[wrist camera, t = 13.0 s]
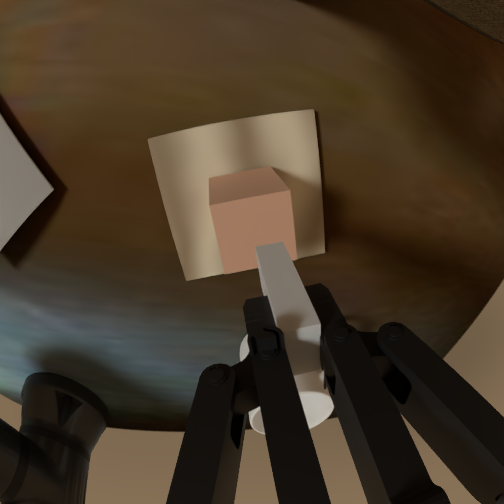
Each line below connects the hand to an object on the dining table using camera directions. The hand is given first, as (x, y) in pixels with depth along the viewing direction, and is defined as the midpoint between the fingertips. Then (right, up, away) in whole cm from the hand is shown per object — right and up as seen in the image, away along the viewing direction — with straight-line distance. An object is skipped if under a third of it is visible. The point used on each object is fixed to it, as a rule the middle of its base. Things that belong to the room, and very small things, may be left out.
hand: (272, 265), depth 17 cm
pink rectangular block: (-2, +5, +10) cm, 11 cm away
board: (-2, +6, +10) cm, 12 cm away
